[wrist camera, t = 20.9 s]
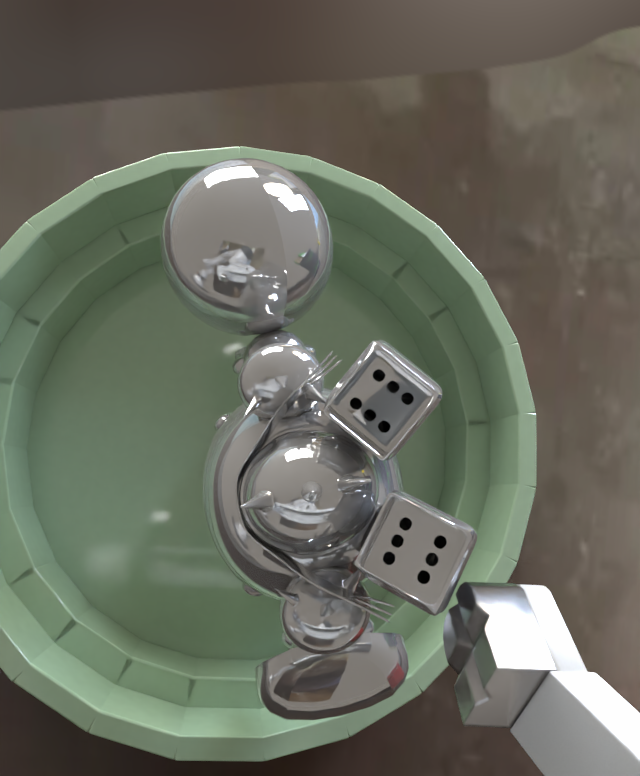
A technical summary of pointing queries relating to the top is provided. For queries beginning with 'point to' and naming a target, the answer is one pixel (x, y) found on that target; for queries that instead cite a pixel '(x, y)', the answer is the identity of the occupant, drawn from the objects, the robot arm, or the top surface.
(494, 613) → the robot arm
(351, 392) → the robot toy
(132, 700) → the bowl
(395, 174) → the top surface
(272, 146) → the top surface
